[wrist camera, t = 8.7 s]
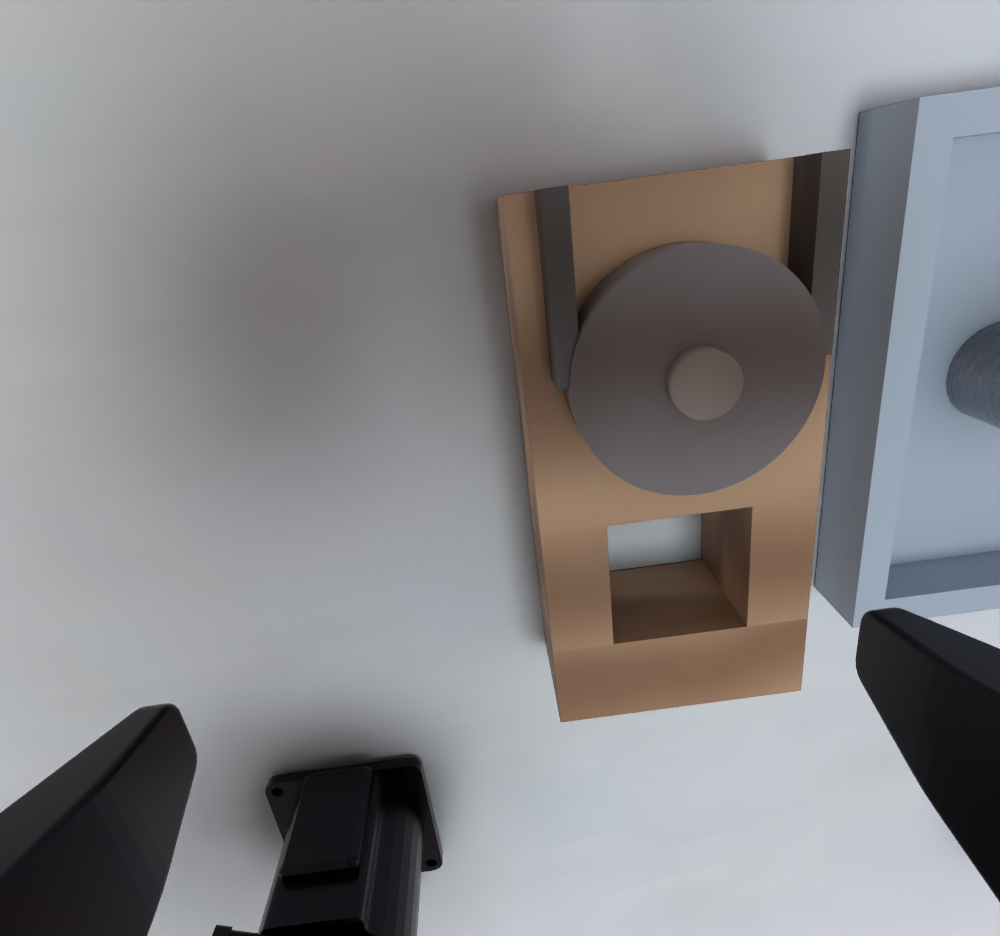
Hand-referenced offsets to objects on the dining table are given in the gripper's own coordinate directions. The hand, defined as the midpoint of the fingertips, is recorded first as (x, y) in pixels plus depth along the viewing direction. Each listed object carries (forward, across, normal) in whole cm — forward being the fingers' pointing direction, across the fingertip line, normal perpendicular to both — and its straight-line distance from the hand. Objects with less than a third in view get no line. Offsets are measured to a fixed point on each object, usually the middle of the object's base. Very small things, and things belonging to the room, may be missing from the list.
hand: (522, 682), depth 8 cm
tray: (+13, -16, +1) cm, 21 cm away
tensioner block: (+13, -5, +2) cm, 14 cm away
